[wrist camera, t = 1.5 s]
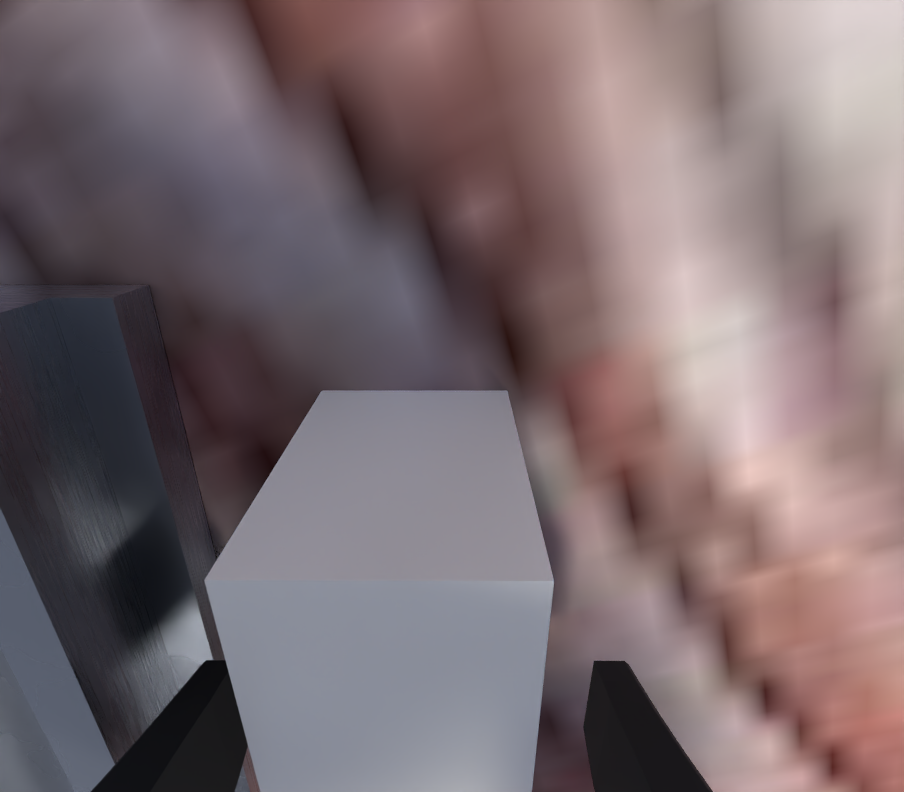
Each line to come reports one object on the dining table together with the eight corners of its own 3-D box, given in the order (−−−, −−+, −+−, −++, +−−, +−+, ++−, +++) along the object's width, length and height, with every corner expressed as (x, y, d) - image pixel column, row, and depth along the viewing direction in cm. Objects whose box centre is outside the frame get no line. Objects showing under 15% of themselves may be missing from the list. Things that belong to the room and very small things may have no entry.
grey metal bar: (488, 769, 14) (504, 1046, 10) (367, 769, 14) (327, 1044, 10) (506, 387, 10) (554, 580, 5) (324, 387, 10) (204, 579, 5)
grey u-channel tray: (289, 854, 16) (254, 996, 13) (7, 852, 16) (-87, 994, 13) (148, 285, 9) (3, 336, 6) (-369, 285, 9) (-754, 336, 6)
